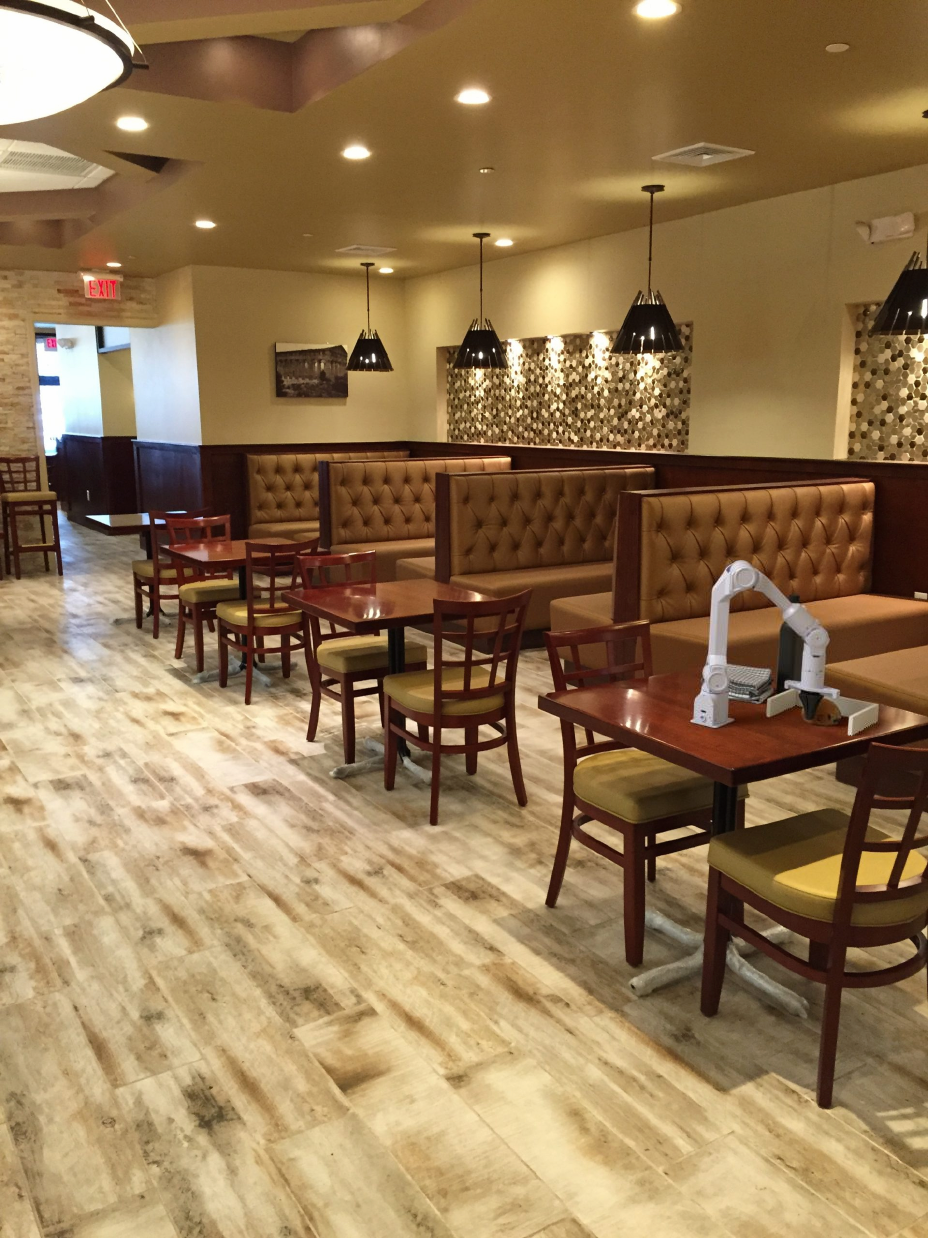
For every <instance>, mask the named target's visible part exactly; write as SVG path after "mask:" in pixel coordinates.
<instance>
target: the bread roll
mask: <svg viewBox="0 0 928 1238" xmlns="http://www.w3.org/2000/svg"><path fill="white" fill-rule="evenodd" d="M800 713H801V714H800V715H801V718H802V721H804V722H807V723H810V724H812V725H816V724H817V725H816V726H823V725H824V726H827V727H828V726H829V725H830V726H835V725H838V724H839V723H840V722H841V719H842V715H841V712H840V710H839V708H838V706H837V705H836V704H835V703H834V702H833V701H830V700H828V699H826V698H823V699H822V700H821V702H820V704H819V705H818V708H817V710H816V713H815V716H814V719H812V720H808V719H806V717H805V712H804V708H803V707H802V709H801V711H800Z"/></svg>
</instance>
